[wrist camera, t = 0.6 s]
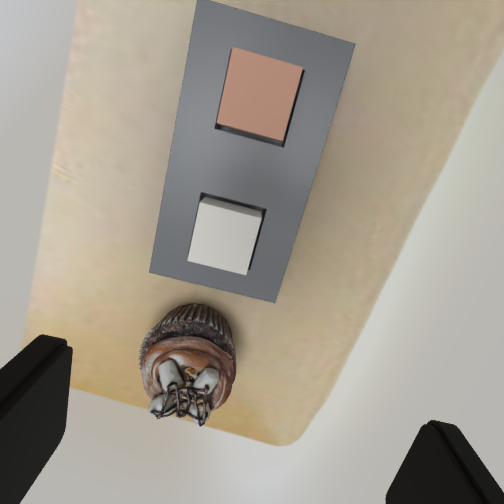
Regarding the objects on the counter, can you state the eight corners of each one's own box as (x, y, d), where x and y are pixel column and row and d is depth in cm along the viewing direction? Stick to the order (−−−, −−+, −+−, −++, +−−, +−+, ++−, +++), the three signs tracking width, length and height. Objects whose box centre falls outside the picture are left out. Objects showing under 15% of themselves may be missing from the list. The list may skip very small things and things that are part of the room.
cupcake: (238, 296, 36) (232, 351, 26) (239, 372, 39) (233, 447, 29) (149, 295, 36) (110, 349, 26) (156, 371, 39) (123, 445, 29)
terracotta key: (235, 57, 26) (232, 46, 23) (297, 75, 26) (302, 67, 23) (220, 125, 27) (216, 122, 24) (280, 141, 27) (282, 140, 25)
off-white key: (205, 196, 29) (199, 202, 26) (261, 211, 29) (261, 218, 26) (193, 249, 30) (187, 260, 28) (247, 263, 31) (246, 275, 28)
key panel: (205, 17, 28) (197, -4, 24) (342, 57, 29) (355, 43, 25) (161, 258, 34) (149, 272, 31) (273, 286, 35) (275, 303, 31)
